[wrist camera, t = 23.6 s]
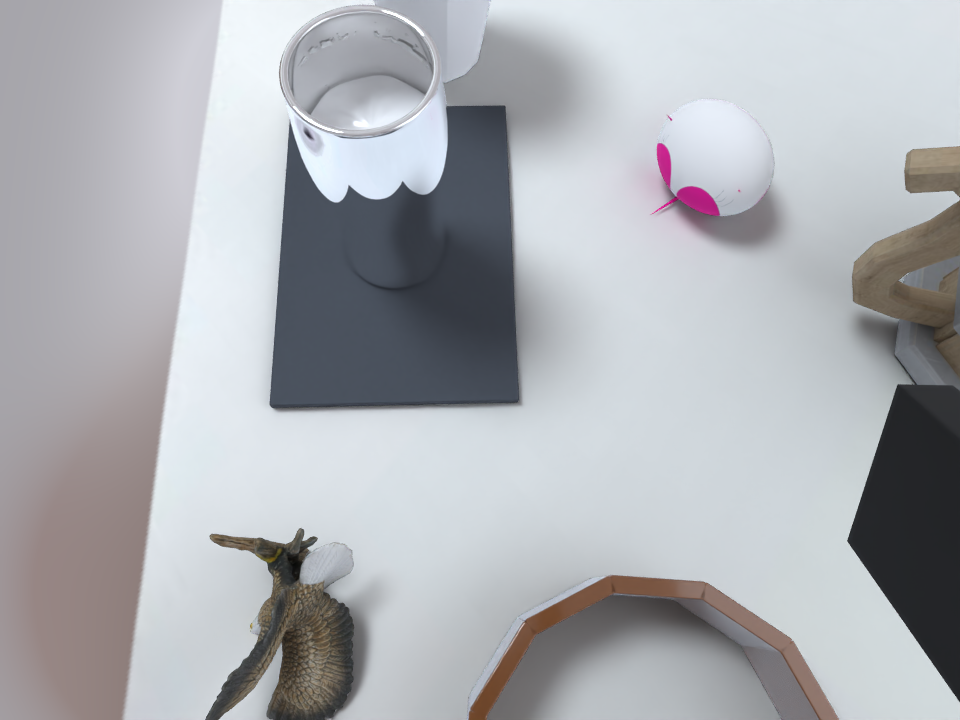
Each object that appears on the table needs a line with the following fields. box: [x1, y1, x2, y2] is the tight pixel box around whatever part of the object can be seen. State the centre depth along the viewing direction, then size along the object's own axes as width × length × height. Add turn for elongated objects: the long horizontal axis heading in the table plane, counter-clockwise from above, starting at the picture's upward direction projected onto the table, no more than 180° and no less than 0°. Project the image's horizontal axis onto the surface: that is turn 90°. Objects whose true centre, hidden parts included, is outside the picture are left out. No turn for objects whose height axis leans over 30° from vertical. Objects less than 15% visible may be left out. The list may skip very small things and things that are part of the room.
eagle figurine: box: [205, 528, 354, 720], centre depth 33 cm, size 8×7×9 cm
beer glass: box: [279, 5, 449, 289], centre depth 35 cm, size 7×7×15 cm
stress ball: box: [652, 99, 774, 216], centre depth 43 cm, size 8×8×7 cm
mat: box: [270, 106, 519, 408], centre depth 43 cm, size 20×14×1 cm
